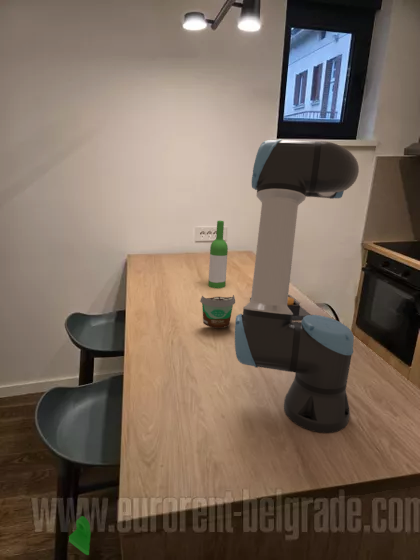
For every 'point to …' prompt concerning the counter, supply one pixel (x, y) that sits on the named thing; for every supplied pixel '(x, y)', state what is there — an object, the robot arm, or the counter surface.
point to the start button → (290, 301)
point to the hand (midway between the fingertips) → (278, 271)
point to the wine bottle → (218, 259)
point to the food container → (217, 311)
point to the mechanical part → (81, 535)
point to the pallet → (297, 310)
